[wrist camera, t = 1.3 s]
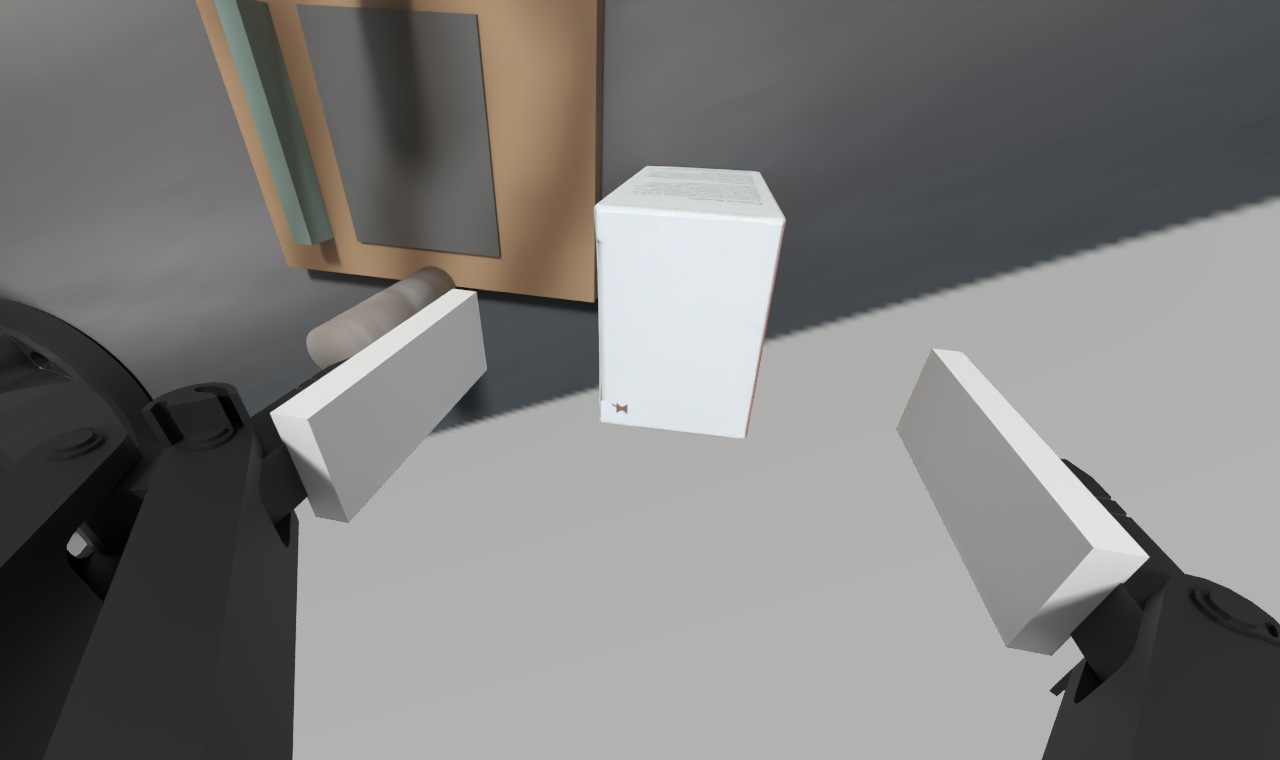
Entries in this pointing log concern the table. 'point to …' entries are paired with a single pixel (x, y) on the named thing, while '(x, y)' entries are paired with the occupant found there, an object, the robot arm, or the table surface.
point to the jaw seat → (421, 144)
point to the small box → (685, 297)
